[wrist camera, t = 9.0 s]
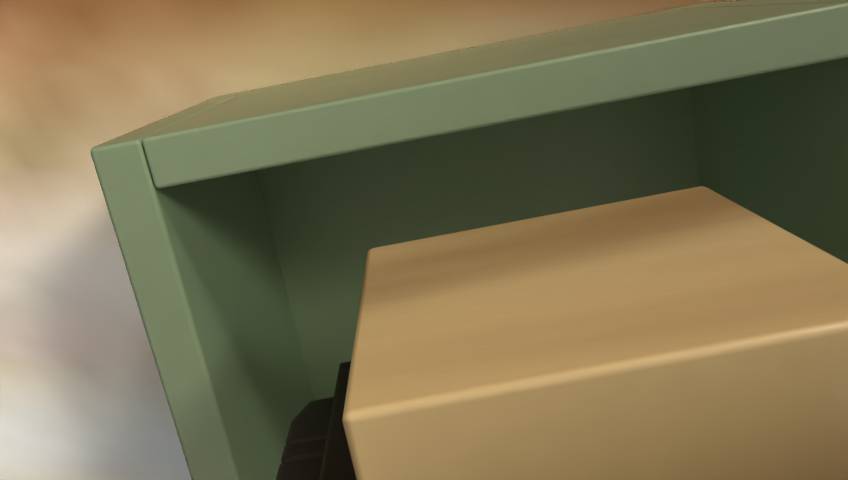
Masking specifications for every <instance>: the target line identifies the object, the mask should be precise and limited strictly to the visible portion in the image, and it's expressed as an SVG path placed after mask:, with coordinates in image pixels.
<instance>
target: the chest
mask: <svg viewBox="0 0 848 480" xmlns="http://www.w3.org/2000/svg"><path fill="white" fill-rule="evenodd" d="M91 156H92V159H93V162H94V165H95V169H96V172H97V175H98V178H99V181H100V185H101V188H102V191H103V194H104V198H105V201H106V204H107V207H108V210H109V214H110V217H111V220H112V223H113V227H114V230H115V233H116V236H117V239H118V243H119V246H120V249H121V252H122V256H123V259H124V262H125V265H126V268H127V272H128V275H129V278H130V281H131V285H132V288H133V291H134V294H135V297H136V301H137V304H138V307H139V310H140V314H141V317H142V320H143V323H144V326H145V330H146V333H147V336H148V339H149V343H150V346H151V349H152V352H153V355H154V359H155V362H156V365H157V368H158V372H159V375H160V378H161V381H162V384H163V388H164V391H165V394H166V397H167V401H168V404H169V407H170V410H171V413H172V417H173V420H174V423H175V426H176V430H177V433H178V436H179V439H180V442H181V446H182V449H183V452H184V455H185V459H186V462H187V465H188V468H189V471H190V475H191V478H192V480H276V476H277V472H278V469H279V465H280V464H282V462H281V458H282V454H283V451H284V447H285V446H286V440H287V436H288V432H289V429H290V425H291V422H292V420H293V419H294V418H295V417H296V416H297V415H298V414H299V413H300V412H301V411H302V410H303V409H304V407H305V406H306V405H307V404H308V403H309V402H310V401H314V400H320V399H325V398H331V397H334V393H335V388H336V382H337V377H338V371H339V366H340V363H344V362H349V361H351V358H352V352H353V345H354V339H355V332H356V325H357V319H358V312H359V306H360V299H361V292H362V286H363V279H364V273H365V266H366V259H367V253H368V251H369V250H370V249H372V248H377V247H382V246H387V245H392V244H398V243H403V242H408V241H414V240H419V239H424V238H429V237H435V236H440V235H445V234H451V233H456V232H461V231H467V230H472V229H477V228H482V227H488V226H493V225H498V224H504V223H509V222H514V221H519V220H525V219H530V218H535V217H541V216H546V215H551V214H556V213H562V212H567V211H572V210H578V209H583V208H588V207H594V206H599V205H604V204H609V203H615V202H620V201H625V200H631V199H636V198H641V197H646V196H652V195H657V194H662V193H668V192H673V191H678V190H684V189H689V188H694V187H699V186H704V187H707V188H709V189H711V190H713V191H714V192H716V193H718V194H720V195H722V196H724V197H725V198H727V199H729V200H731V201H733V202H735V203H737V204H738V205H740V206H742V207H744V208H746V209H748V210H749V211H751V212H753V213H755V214H757V215H759V216H760V217H762V218H764V219H766V220H768V221H770V222H772V223H773V224H775V225H777V226H779V227H781V228H783V229H784V230H786V231H788V232H790V233H792V234H794V235H795V236H797V237H799V238H801V239H803V240H805V241H807V242H808V243H810V244H812V245H814V246H816V247H818V248H819V249H821V250H823V251H825V252H827V253H829V254H831V255H832V256H834V257H836V258H838V259H840V260H842V261H843V262H845V263H847V264H848V0H742V1H725V2H708V3H699V4H694V5H689V6H684V7H679V8H674V9H668V10H663V11H658V12H653V13H648V14H643V15H637V16H632V17H627V18H622V19H617V20H612V21H606V22H601V23H596V24H591V25H586V26H581V27H575V28H570V29H565V30H560V31H555V32H550V33H544V34H539V35H534V36H529V37H524V38H519V39H513V40H508V41H503V42H498V43H493V44H488V45H482V46H477V47H472V48H467V49H462V50H457V51H451V52H446V53H441V54H436V55H431V56H426V57H420V58H415V59H410V60H405V61H400V62H395V63H389V64H384V65H379V66H374V67H369V68H364V69H358V70H353V71H348V72H343V73H338V74H333V75H327V76H322V77H317V78H312V79H307V80H302V81H296V82H291V83H286V84H281V85H276V86H271V87H265V88H260V89H255V90H250V91H245V92H240V93H234V94H229V95H224V96H219V97H214V98H212V99H209V100H207V101H205V102H203V103H200V104H198V105H195V106H193V107H190V108H188V109H185V110H183V111H181V112H178V113H176V114H173V115H171V116H168V117H166V118H164V119H161V120H159V121H156V122H154V123H151V124H149V125H146V126H144V127H142V128H139V129H137V130H134V131H132V132H129V133H127V134H125V135H122V136H120V137H117V138H115V139H112V140H110V141H107V142H105V143H103V144H100V145H98V146H95V147H94V148H92V149H91Z"/></svg>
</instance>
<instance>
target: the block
mask: <svg viewBox="0 0 848 480" xmlns="http://www.w3.org/2000/svg"><path fill="white" fill-rule="evenodd" d="M342 422H343V426H344V430H345V434H346V438H347V443H348V447H349V451H350V455H351V459H352V463H353V467H354V471H355V475H356V480H848V264H847V263H845V262H843V261H842V260H840V259H838V258H836V257H834V256H832V255H831V254H829V253H827V252H825V251H823V250H821V249H819V248H818V247H816V246H814V245H812V244H810V243H808V242H807V241H805V240H803V239H801V238H799V237H797V236H795V235H794V234H792V233H790V232H788V231H786V230H784V229H783V228H781V227H779V226H777V225H775V224H773V223H772V222H770V221H768V220H766V219H764V218H762V217H760V216H759V215H757V214H755V213H753V212H751V211H749V210H748V209H746V208H744V207H742V206H740V205H738V204H737V203H735V202H733V201H731V200H729V199H727V198H725V197H724V196H722V195H720V194H718V193H716V192H714V191H713V190H711V189H709V188H707V187H704V186H699V187H694V188H689V189H684V190H678V191H673V192H668V193H662V194H657V195H652V196H646V197H641V198H636V199H631V200H625V201H620V202H615V203H609V204H604V205H599V206H594V207H588V208H583V209H578V210H572V211H567V212H562V213H556V214H551V215H546V216H541V217H535V218H530V219H525V220H519V221H514V222H509V223H504V224H498V225H493V226H488V227H482V228H477V229H472V230H467V231H461V232H456V233H451V234H445V235H440V236H435V237H429V238H424V239H419V240H414V241H408V242H403V243H398V244H392V245H387V246H382V247H377V248H372V249H370V250H369V251H368V253H367V259H366V266H365V273H364V279H363V286H362V292H361V299H360V306H359V312H358V319H357V325H356V332H355V339H354V345H353V352H352V358H351V365H350V371H349V378H348V385H347V391H346V398H345V404H344V411H343V418H342Z"/></svg>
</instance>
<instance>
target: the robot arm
mask: <svg viewBox="0 0 848 480" xmlns="http://www.w3.org/2000/svg"><path fill="white" fill-rule="evenodd" d="M350 365H351V361H349V362H344V363H340V366H339V371H338V377H337V382H336V388H335V393H334V397H331V398H325V399H320V400H314V401H310V402H309V403H308V404H307V405H306V406H305V407H304V409H303V410H302V411H301V412H300V413H299V414H298V415H297V416H296V417H295V418H294V419H293V420H292V422H291V425H290V429H289V432H288V436H287V440H286V446H285V447H284V451H283V454H282V458H281V462H282V464H280V465H279V469H278V472H277V476H276V480H356V475H355V471H354V467H353V463H352V459H351V455H350V451H349V447H348V443H347V438H346V434H345V430H344V426H343V422H342V418H343V411H344V404H345V398H346V391H347V385H348V378H349V371H350Z"/></svg>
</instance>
